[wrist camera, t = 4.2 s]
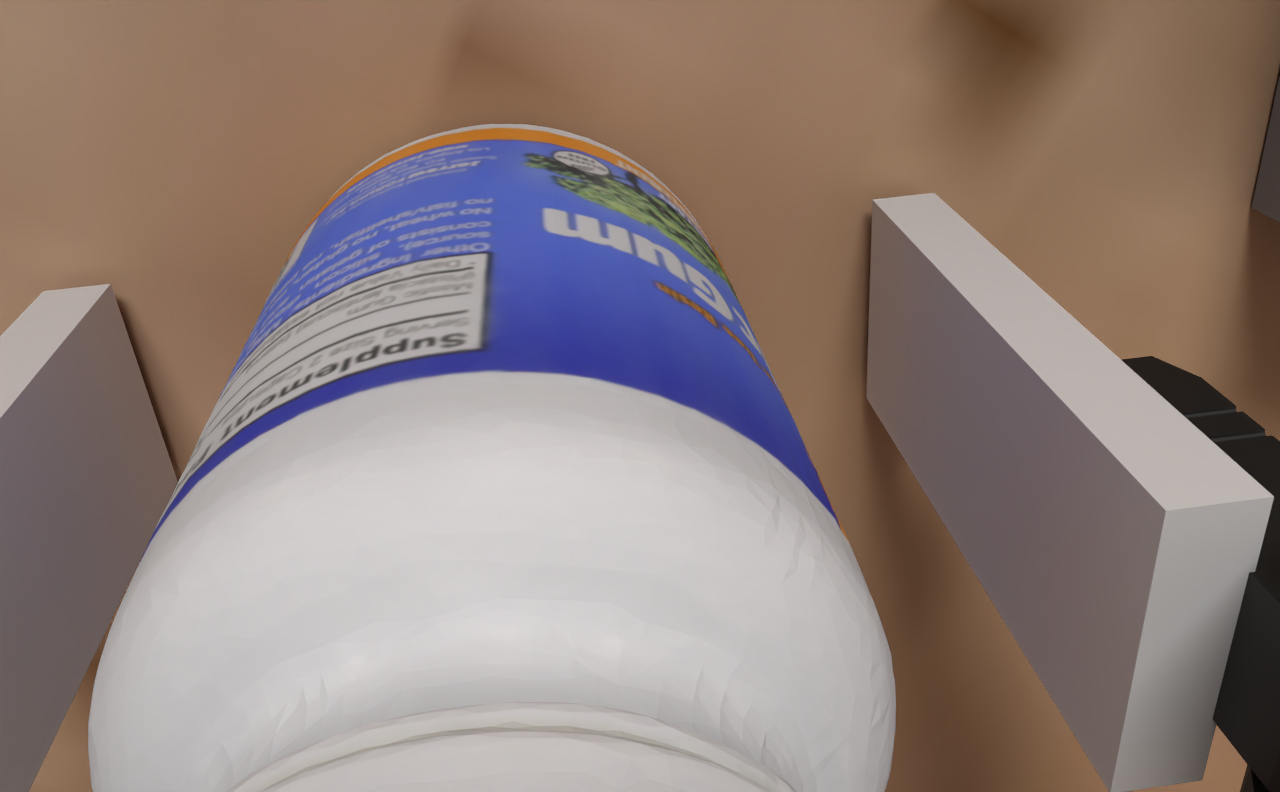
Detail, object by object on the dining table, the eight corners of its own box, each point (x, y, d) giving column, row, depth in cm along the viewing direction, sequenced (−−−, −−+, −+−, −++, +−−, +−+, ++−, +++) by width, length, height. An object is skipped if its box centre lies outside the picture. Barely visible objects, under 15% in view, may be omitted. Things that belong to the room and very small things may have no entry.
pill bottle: (799, 371, 14) (1253, 1225, 6) (466, 574, 15) (427, 1566, 7) (561, 9, 12) (729, 568, 3) (180, 281, 13) (-478, 1269, 4)
